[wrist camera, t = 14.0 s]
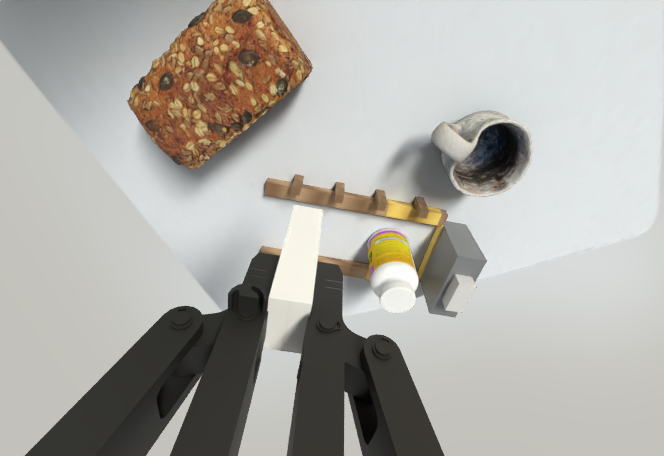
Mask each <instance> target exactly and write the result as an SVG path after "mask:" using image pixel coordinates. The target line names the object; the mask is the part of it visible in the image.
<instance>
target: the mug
mask: <svg viewBox="0 0 664 456" xmlns="http://www.w3.org/2000/svg"><path fill="white" fill-rule="evenodd" d="M431 140H432V142H433V143H434V144H435V145H436V146H437V147H438V148H439V149H440V150H441V159H442V163H443V166H444V168H445V171H446V173H447V174H448V175H449V179H450V181H451V183H452V184H453V186H454V187H455V188H456V189H457V190H459V191H460V192H462V193H463V194H465V195H469V196H479V197H486V196H491V195H495V194H499V193H502V192H504V191H506V190H508V189H510V188H511V187H512V186H513V185H514V184H516V183H517V182H518V181H519V180H520V179H521V178H522V177H523V175H524V174H525V172H526V170H527V168H528V167H529V165H530V162H531V157H532V151H533V146H532V140H531V135H530V133H529V131H528V129H527V128H526V127H524V126H523V125H522V124H520V123H518V122H516V121H513V120H510V119H509V118H508V117H507V116H505V115H503V114H501V113H499V112H495V111H481V112H476V113H473V114H470V115H468V116H466V117H464V118H462V119H461V120H459V121H458V122H456V123H455V124H452V123H448V122H443V123H441V124H440V125H438V126H437V127H436V129H435V130H434V131H433V133H432V135H431Z"/></svg>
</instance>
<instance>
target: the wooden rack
mask: <svg viewBox="0 0 664 456" xmlns="http://www.w3.org/2000/svg"><path fill="white" fill-rule="evenodd" d="M303 178H304V176H301V175H295V178H294V181H293V183H292V182H286V181H281V180H276V179H270V178H268V179H267V181H266V186H265V195H269V196H274V197H280V198H285V199H291V200H296V201H302V202H308V203H313V204H319V205H324V206H330V207H335V208H341V209H347V210H352V211H358V212H363V213H369V214H374V215H380V216H386V217H391V218H397V219H402V220H408V221H413V222H419V223H425V224H430V225H436V226H442V225H444V223H445V221H446V219H447V217H448V215H447V213H446V211H445V210H440V209H437V208H432V207H427V205H426V203H425V201H424V198H420V197H415V200H414V203H413V204H410V203H405V202H399V201H394V200H386V197H385V192H384V191H382V190H376V192H375V196H374V197H368V196H363V195H357V194H352V193H347V192H344V183H338V182H336V186H335V190H330V189H325V188H319V187H314V186H308V185H303ZM281 251H282V249H276V248H270V247H264V246H262V248H261V251H260V252H261V253H266V254H272V255H278V256H280V255H281ZM317 261H319V262H325V263H331V264H337V265H339V267H340V269H341V271H342V273H343V275H347V276H353V277H359V278H365V279H366V280H370V272H369V264H365V263H359V262H353V261H347V260H341V259H335V258H329V257H323V256H318V260H317ZM417 275H418V273H417ZM418 279H419V277H418ZM418 283H419V282H418Z"/></svg>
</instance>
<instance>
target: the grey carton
mask: <svg viewBox="0 0 664 456" xmlns="http://www.w3.org/2000/svg"><path fill="white" fill-rule="evenodd" d="M486 262H487V260H486V258H485V257H484V255H483V253H482V252H481V250H480V248H479V246H478V245H477V243H476V241H475V239H474V238H473V236H472V234H471V233H470V231H469V229H468V227H467V226H466V225H465V224H459V223H454V222H448V221H445V223H444V225H442V226H437V227H436V230H435V232H434V234H433V237H432V239H431V241H430V244H429V246H428V248H427V251H426V253H425V255H424V258H423V260H422V262H421V265H420V267H419V270H418V272H417V273H418V277H419V280H420V282H421V285H422V289H423V292H424V296H425V299H426V303H427V306H428V310H429V313H431V314H437V315H444V316H450V317H455V316H456V315H457V313H458V312H459V313H462V312H463V310H464V308H465V306H466V305H467V303H468V301H469V299H470V298H471V296H472V294H473V293H474V291H475V289H476V284H475V281H476V279H477V278H478V276H479V274H480V272H481V271H482V269H483V267H484V265H485V263H486Z"/></svg>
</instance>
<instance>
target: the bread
mask: <svg viewBox="0 0 664 456" xmlns="http://www.w3.org/2000/svg"><path fill="white" fill-rule="evenodd" d="M312 68H313V67H312V64H311V62H310V60H309V59H308V58H307V56H306V55H305V54H304V52H303V51H302V49H301V48H300V46H299V44H298V43H297V41H296V40H295V38H294V37H293V35H292V34H291V32H290V31H289V29H288V28H287V27H286V25H285V24H284V22H283V21H282V19H281V18H280V17H279V15H278V14H277V12H276V11H275V9H274V8H273V7H272V5H271V4H270V2H269V1H268V0H216V1H214V2H213V3H212V4H211V5H210V7H209V8H208V9H207V11H206V12H203V13H201V14H200V15H199V16H197V17H195V18H194V19H193V20H192V21H191V22H190V24H189V25H188V28H187V29H185V30H184V31H182V32H181V33H180V34H179V37H177V38H176V39H175V41H174V42H173V43H172V44H171V45H170V50H168V51H167V52H165V53H163V56H161V57H160V58H159V59H155V60H154V61H153V63H152V67H151V70H150V72H149V73H148V74H147V75H146V76H144V77H142V78H141V79H140V81H139V83H138V84H136V85H135V86H134V88H133V89H132V91H131V94H130V98H129V100H128V101H127V102H128V104H129V106H130V109H131V110H133V112H134V113H135V115H136V117H137V118H138V120H139V122H140V123H141V125H142V126H143V127H144V128H145V130H146V131H147V132H148V134H149V135H150V136H151V139H152V141H153V142H154V143H155V144H157V145H158V146H159V147H160V148H161V149H162V150H163V151H164V152H165V153H166V154H167V155H168V156H170V157H171V158H172V159H173V161H174V162H175V163H177V164H178V165H180V164H183V165H185V166H187V167H188V169H197V168H199V167H201V166H202V165H203V164H204V163H205V162H206V161H207V160H209V159H210V158H211V157H212V156H213V155H214V154H215V153H217V152H218V151H220V150H221V149H223V148H224V147H225V146H226V145H227V144H229V143H230V142H232V141H233V140H234V139H236V138H237V137H238V136H239V135H240V134H241V133H243V132H244V131H246V130H247V129H248V128H249V127H250V126H251V125H252V124H254V123H255V122H256V121H257V120H258V119H259V118H260V117H261V116H263V115H264V114H265V113H266V112H267V111H268V110H269V109H270V108H271V107H272V106H274V105H276V104H277V103H278V102H280V101H281V100H282V99H283V98H284V97H285V96H287V95H288V94H289V93H290V92H291V91H292V90H293V89H294V88H295V87H296V86H297V85H299V84H300V83H302V82H303V81H304V80H305V79H306V78H307V77H308V76H309V74H310V72H311V71H312Z"/></svg>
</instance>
